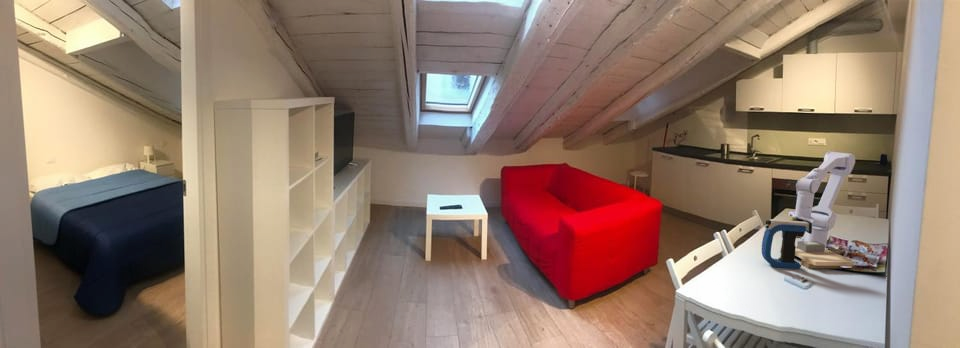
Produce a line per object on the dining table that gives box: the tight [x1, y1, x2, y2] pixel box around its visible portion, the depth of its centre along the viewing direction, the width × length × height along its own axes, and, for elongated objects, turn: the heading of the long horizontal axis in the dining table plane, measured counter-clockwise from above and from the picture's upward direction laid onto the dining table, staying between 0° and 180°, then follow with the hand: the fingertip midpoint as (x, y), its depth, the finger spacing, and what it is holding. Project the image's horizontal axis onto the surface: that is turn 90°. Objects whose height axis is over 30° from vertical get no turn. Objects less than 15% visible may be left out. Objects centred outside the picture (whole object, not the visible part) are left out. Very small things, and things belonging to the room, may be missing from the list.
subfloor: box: [779, 244, 856, 269], centre depth 189 cm, size 20×18×4 cm
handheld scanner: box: [761, 218, 812, 270], centre depth 181 cm, size 4×16×19 cm, turn 78°
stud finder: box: [796, 240, 825, 252], centre depth 192 cm, size 5×8×3 cm, turn 91°
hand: (799, 236), depth 198 cm, fingers closed
